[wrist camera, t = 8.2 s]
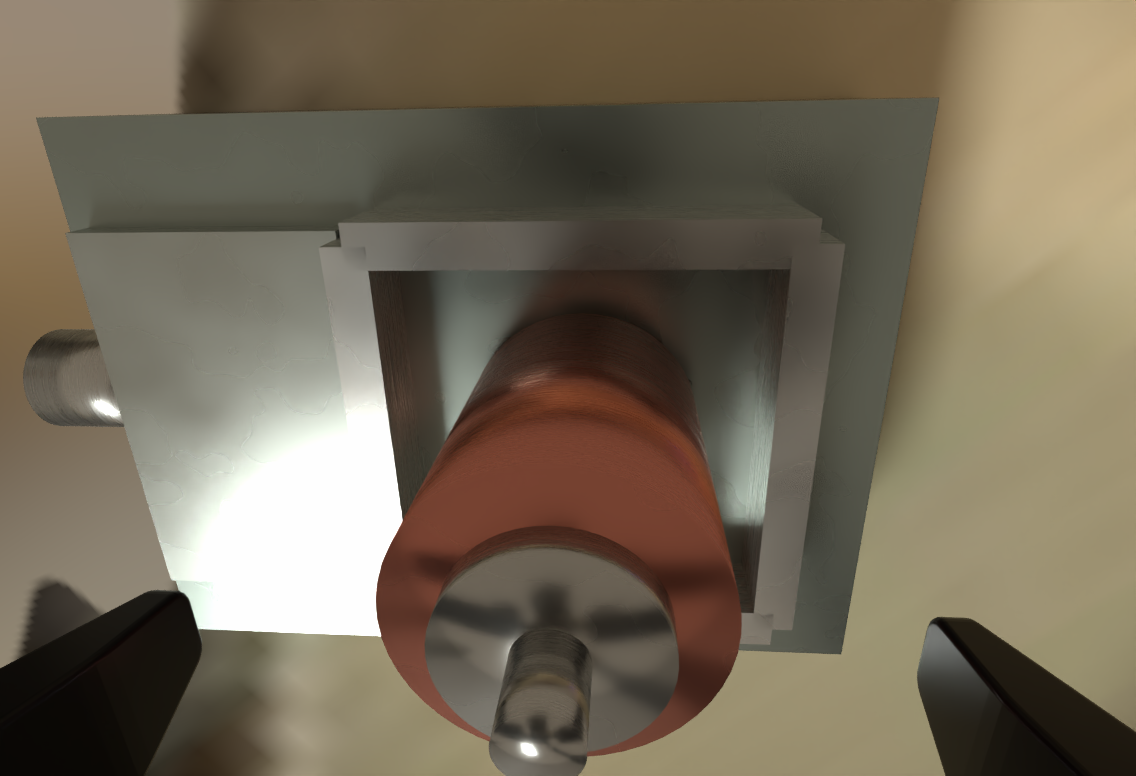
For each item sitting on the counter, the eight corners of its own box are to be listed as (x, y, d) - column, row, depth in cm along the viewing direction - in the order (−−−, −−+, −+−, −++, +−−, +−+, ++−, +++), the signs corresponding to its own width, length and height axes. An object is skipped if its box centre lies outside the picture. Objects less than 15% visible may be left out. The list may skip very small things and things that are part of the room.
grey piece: (861, 98, 15) (987, 97, 10) (800, 550, 20) (863, 710, 14) (51, 116, 16) (-210, 123, 11) (173, 532, 21) (28, 672, 16)
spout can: (702, 313, 13) (795, 574, 6) (690, 517, 15) (749, 911, 8) (465, 313, 13) (276, 557, 6) (481, 512, 15) (350, 881, 8)
